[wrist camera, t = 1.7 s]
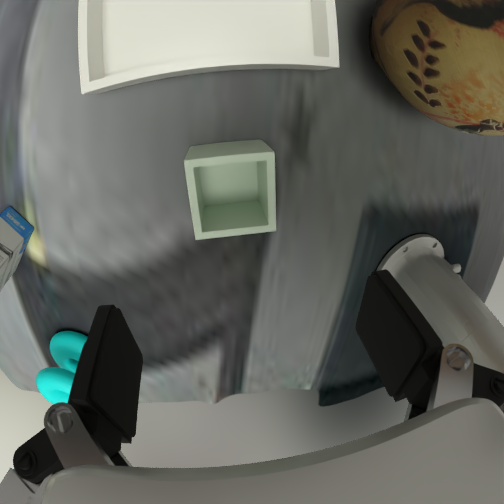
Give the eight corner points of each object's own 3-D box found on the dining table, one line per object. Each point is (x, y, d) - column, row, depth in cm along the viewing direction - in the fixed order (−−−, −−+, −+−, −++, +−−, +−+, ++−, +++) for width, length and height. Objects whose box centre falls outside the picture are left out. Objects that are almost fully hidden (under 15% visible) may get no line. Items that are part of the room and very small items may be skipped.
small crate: (261, 139, 25) (274, 152, 19) (263, 203, 28) (276, 231, 23) (190, 146, 24) (183, 160, 19) (198, 210, 27) (195, 239, 22)
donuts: (103, 402, 28) (92, 423, 32) (115, 344, 36) (102, 374, 40) (32, 370, 24) (34, 399, 28) (56, 316, 32) (51, 351, 36)
